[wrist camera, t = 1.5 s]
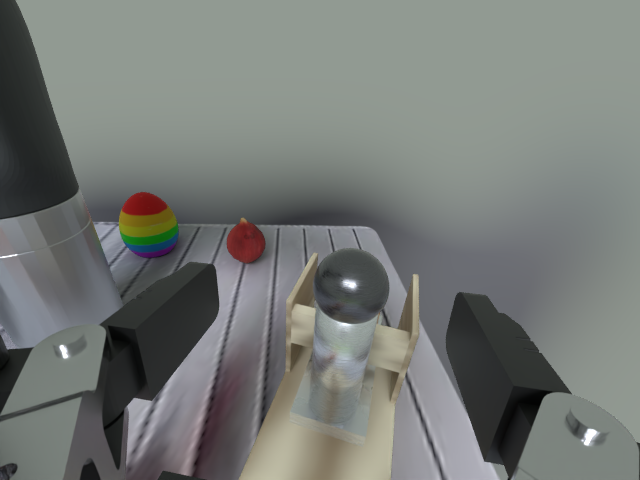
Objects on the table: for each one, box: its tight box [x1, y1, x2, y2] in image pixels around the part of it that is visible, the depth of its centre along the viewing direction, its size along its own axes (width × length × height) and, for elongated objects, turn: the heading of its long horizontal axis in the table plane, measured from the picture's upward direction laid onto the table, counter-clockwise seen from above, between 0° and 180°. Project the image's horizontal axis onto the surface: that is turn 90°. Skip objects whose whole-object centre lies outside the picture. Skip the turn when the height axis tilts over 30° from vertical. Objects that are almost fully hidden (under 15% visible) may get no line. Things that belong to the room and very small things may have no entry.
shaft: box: [290, 248, 389, 447], centre depth 24 cm, size 6×13×16 cm, turn 164°
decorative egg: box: [119, 192, 179, 258], centre depth 47 cm, size 8×8×10 cm
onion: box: [227, 218, 265, 263], centre depth 46 cm, size 6×6×8 cm
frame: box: [239, 253, 419, 480], centre depth 22 cm, size 11×26×11 cm, turn 164°
